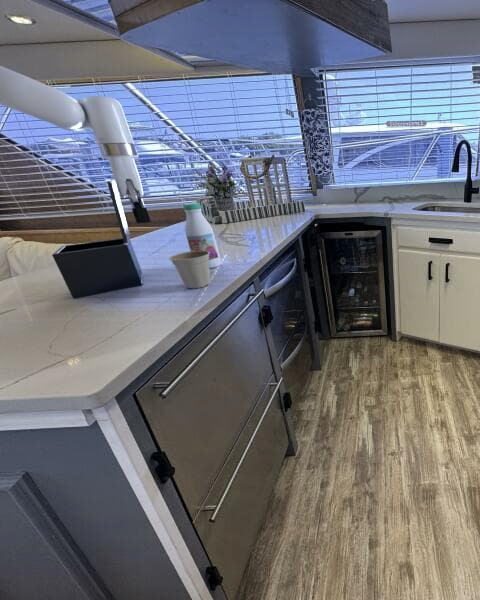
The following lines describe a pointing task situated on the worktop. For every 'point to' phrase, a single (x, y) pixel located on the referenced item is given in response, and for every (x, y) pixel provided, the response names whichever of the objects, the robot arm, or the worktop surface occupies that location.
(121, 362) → the worktop surface
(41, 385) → the worktop surface
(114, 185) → the bin lid
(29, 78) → the robot arm
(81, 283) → the bin
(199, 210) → the milk bottle
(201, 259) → the flower pot
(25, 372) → the worktop surface
